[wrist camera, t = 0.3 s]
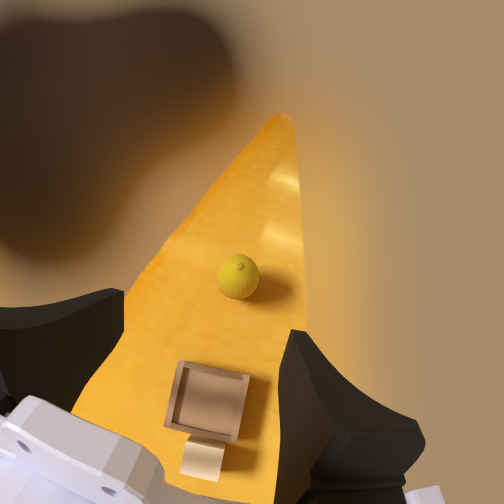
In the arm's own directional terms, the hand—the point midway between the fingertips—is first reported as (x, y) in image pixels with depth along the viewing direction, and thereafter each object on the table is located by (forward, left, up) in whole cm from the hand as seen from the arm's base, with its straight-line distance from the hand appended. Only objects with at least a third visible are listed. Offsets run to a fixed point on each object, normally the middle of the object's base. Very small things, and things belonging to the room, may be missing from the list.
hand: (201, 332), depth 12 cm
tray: (-4, +1, -29) cm, 29 cm away
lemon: (+12, 0, -29) cm, 31 cm away
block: (-12, 0, -29) cm, 31 cm away
